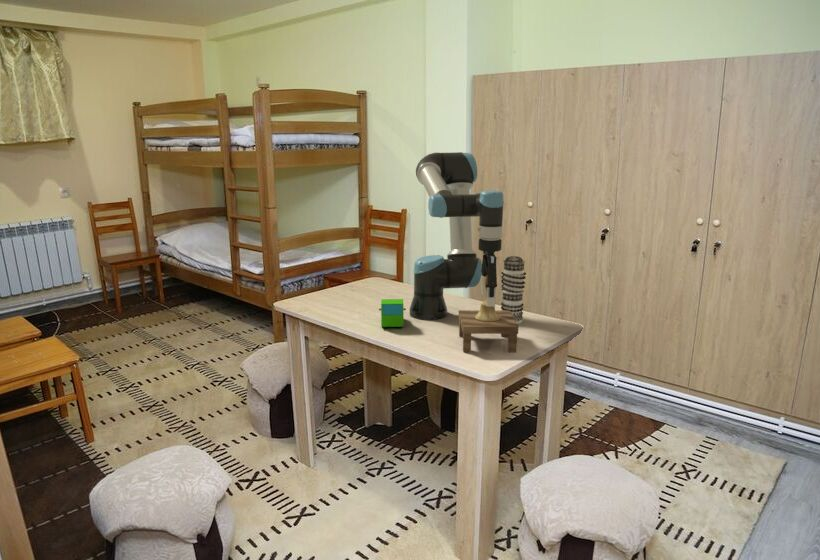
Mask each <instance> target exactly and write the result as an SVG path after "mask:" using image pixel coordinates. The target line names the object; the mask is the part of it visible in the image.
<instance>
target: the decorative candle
mask: <svg viewBox="0 0 820 560" xmlns="http://www.w3.org/2000/svg"><path fill="white" fill-rule="evenodd" d="M502 262H503V270H502V271H501V274H502V275H501V283H502V284H501V292H502V297H501V302H500V305H501V306H500V310H505V311H510V313H511V314H512V316H513V318H514V320H515V321H516V323H517V325H519V324H522V323H523V318H524V317H523V315H524V312H523V311H524V307H523V306H524V303H523V302H524V299H523V298H524V296H523V295H524V292H525V291H524V289H525V284H526V282H525V281H524V280H525V279H526V276H525V275H527V273H526V272H525V262H526V261H525V260H523V258H522V257H521V256H515V255H509V256H507V257H506V258H505V259H504V260H503V261H502Z"/></svg>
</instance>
